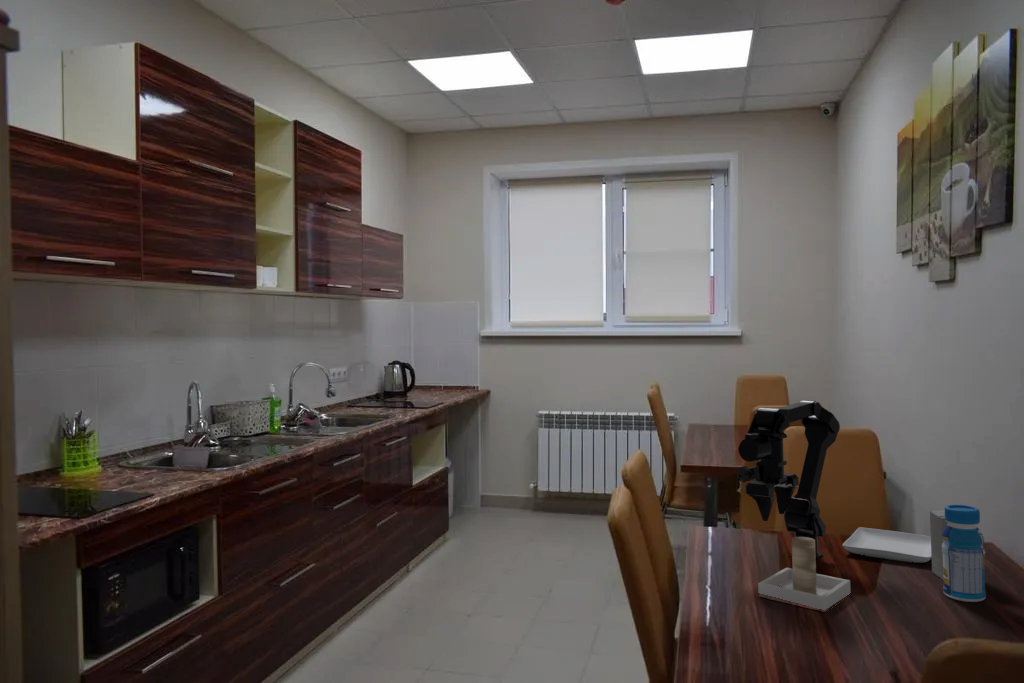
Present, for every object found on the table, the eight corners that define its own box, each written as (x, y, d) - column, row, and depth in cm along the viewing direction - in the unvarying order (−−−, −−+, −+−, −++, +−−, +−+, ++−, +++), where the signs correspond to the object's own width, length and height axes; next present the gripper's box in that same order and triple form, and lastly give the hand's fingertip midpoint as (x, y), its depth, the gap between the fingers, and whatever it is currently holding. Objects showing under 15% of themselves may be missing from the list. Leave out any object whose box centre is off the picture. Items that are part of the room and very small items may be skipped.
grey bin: (786, 580, 178) (786, 567, 178) (850, 594, 168) (850, 580, 168) (758, 597, 168) (758, 583, 168) (824, 613, 157) (824, 598, 157)
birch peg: (806, 587, 171) (804, 535, 171) (821, 593, 166) (820, 540, 166) (788, 590, 169) (787, 538, 170) (803, 596, 165) (802, 543, 165)
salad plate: (931, 569, 184) (930, 556, 184) (841, 556, 197) (840, 543, 197) (942, 549, 201) (942, 536, 201) (859, 538, 214) (858, 526, 214)
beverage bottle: (965, 605, 159) (963, 513, 159) (933, 592, 167) (931, 505, 167) (996, 600, 162) (993, 510, 161) (963, 588, 170) (960, 502, 170)
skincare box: (965, 572, 180) (963, 508, 180) (981, 582, 173) (979, 515, 173) (929, 572, 181) (927, 508, 181) (943, 582, 174) (941, 515, 174)
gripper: (758, 449, 200) (760, 506, 200) (725, 458, 187) (726, 519, 187) (798, 453, 193) (800, 512, 193) (766, 463, 179) (768, 526, 179)
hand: (773, 517), depth 188 cm, fingers open, 9 cm apart
